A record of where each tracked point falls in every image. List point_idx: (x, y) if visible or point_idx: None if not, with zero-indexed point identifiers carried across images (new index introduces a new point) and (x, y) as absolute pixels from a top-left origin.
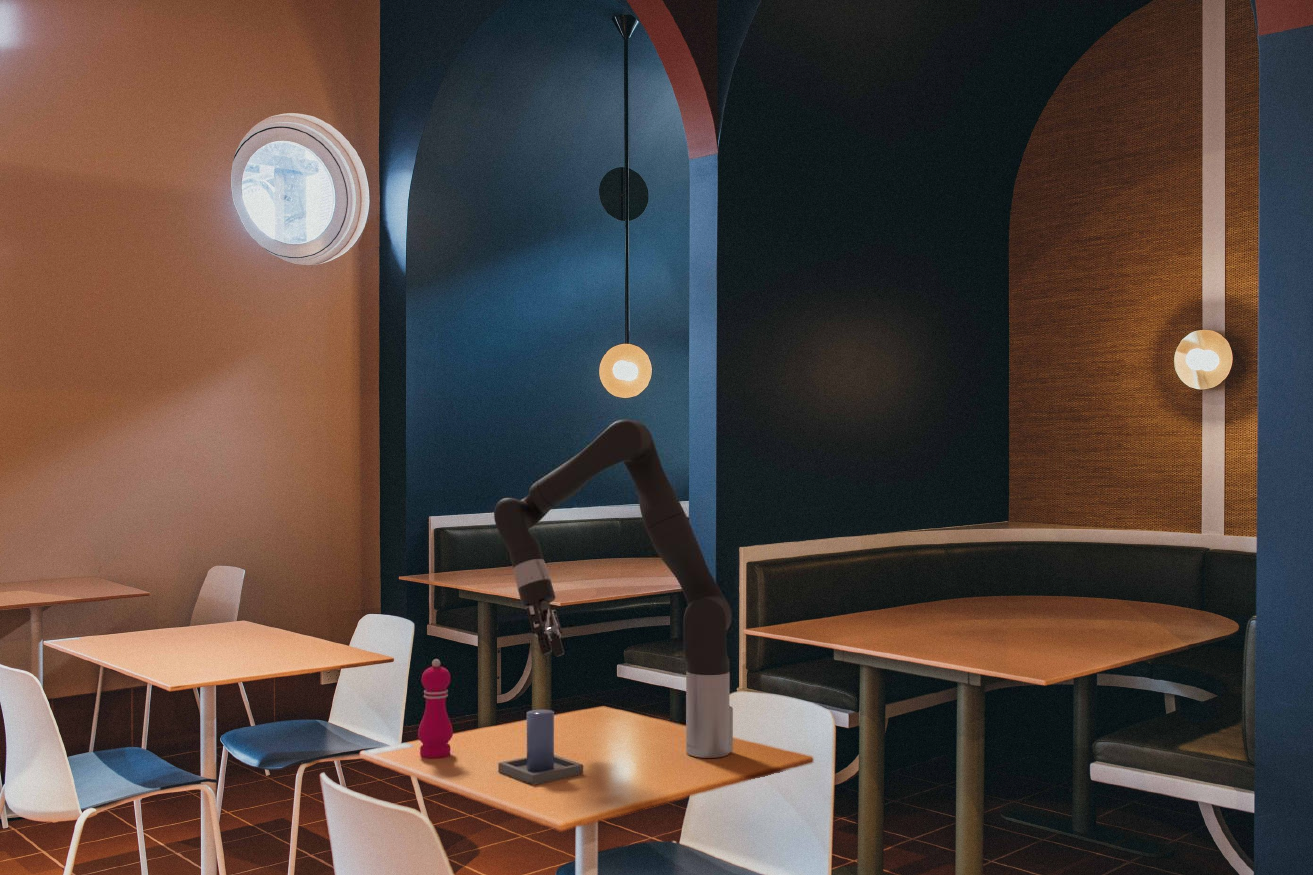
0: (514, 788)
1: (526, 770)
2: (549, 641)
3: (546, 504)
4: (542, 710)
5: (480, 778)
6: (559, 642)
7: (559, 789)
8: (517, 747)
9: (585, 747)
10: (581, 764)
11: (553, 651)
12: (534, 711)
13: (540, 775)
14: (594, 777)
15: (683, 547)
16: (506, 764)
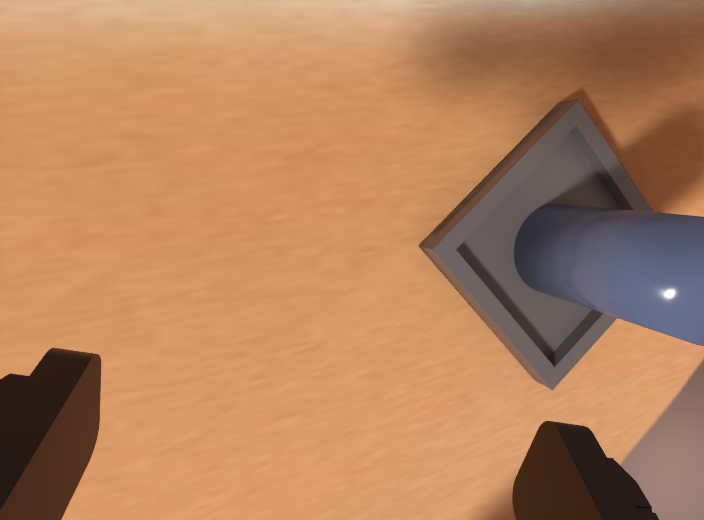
0: None
1: None
2: (608, 512)
3: None
4: (684, 281)
5: (595, 409)
6: (30, 478)
7: (694, 161)
8: (216, 409)
9: (190, 123)
10: (575, 105)
11: (74, 491)
12: (698, 315)
13: None
14: (593, 61)
15: None
16: (572, 358)
